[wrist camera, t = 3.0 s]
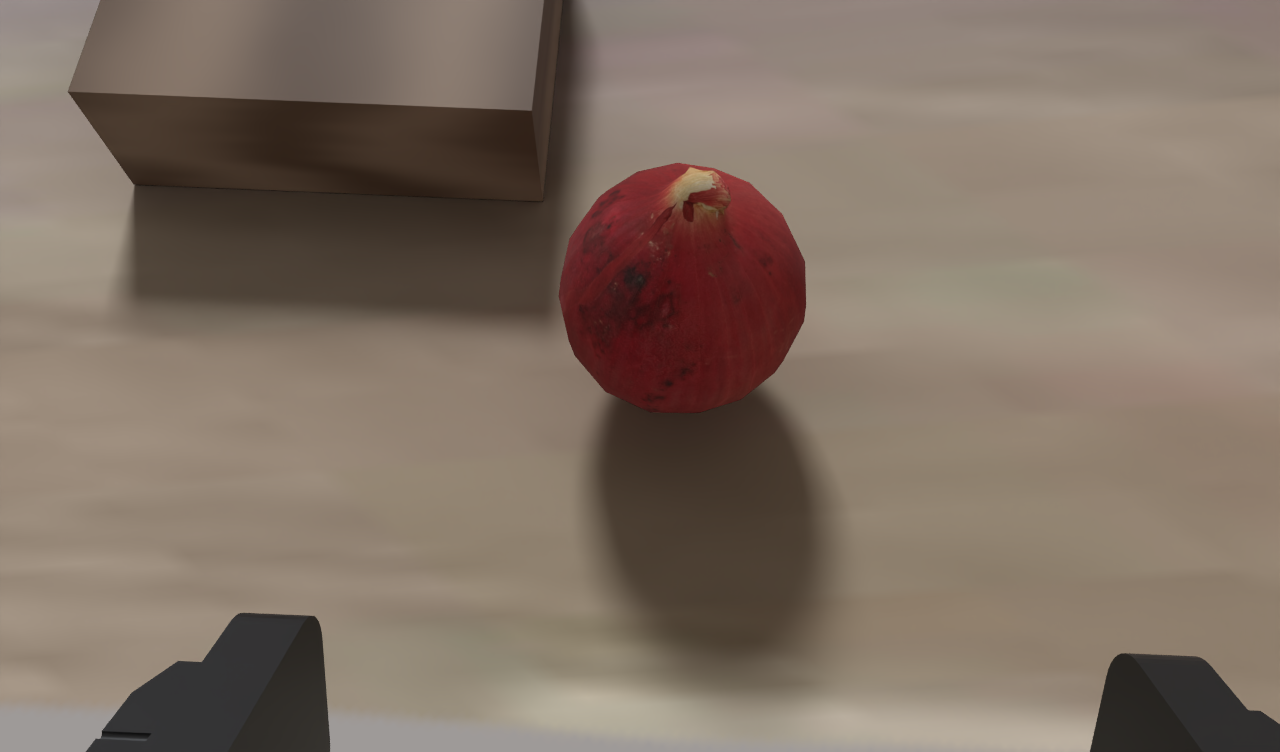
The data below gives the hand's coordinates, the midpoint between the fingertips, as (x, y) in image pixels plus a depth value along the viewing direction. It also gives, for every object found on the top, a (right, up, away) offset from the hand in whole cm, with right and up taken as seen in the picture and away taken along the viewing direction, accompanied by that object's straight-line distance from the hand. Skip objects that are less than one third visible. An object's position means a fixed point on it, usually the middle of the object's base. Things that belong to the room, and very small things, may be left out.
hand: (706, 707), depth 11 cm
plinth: (-9, +13, +22) cm, 27 cm away
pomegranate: (0, +4, +18) cm, 18 cm away
